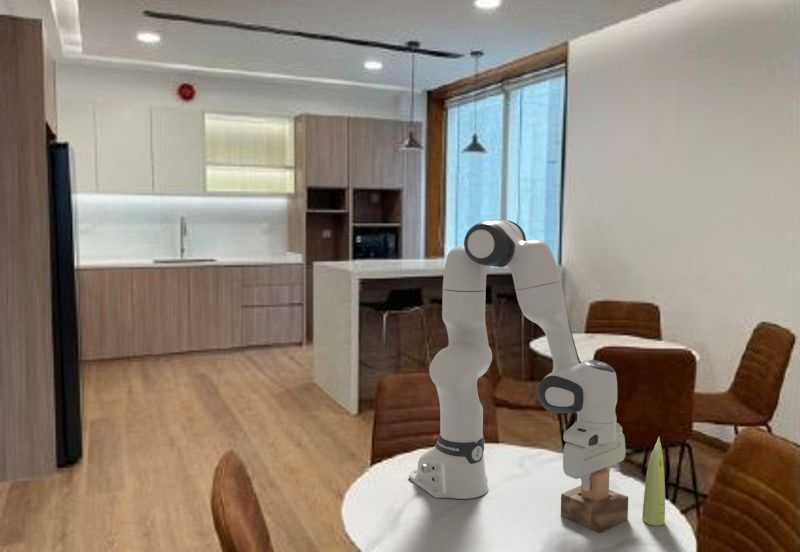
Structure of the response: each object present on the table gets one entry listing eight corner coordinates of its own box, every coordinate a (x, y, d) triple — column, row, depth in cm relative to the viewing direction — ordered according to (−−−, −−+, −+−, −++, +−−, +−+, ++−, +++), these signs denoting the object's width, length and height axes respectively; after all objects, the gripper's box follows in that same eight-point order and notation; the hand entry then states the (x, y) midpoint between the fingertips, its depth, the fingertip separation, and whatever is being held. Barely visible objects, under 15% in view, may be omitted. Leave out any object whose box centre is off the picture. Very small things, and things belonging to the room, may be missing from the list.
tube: (671, 526, 151) (674, 444, 150) (651, 528, 150) (654, 446, 149) (656, 515, 157) (659, 436, 155) (637, 517, 156) (640, 437, 154)
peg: (580, 506, 156) (581, 470, 155) (592, 501, 159) (593, 465, 158) (597, 513, 152) (598, 476, 152) (608, 508, 155) (609, 471, 154)
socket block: (560, 515, 157) (561, 493, 156) (588, 503, 164) (588, 482, 163) (600, 533, 148) (601, 509, 148) (627, 519, 155) (628, 496, 155)
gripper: (610, 418, 163) (608, 472, 164) (558, 435, 150) (557, 493, 151) (633, 424, 158) (631, 480, 159) (581, 442, 145) (580, 502, 146)
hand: (594, 486), depth 155 cm, fingers closed on peg, 4 cm apart
